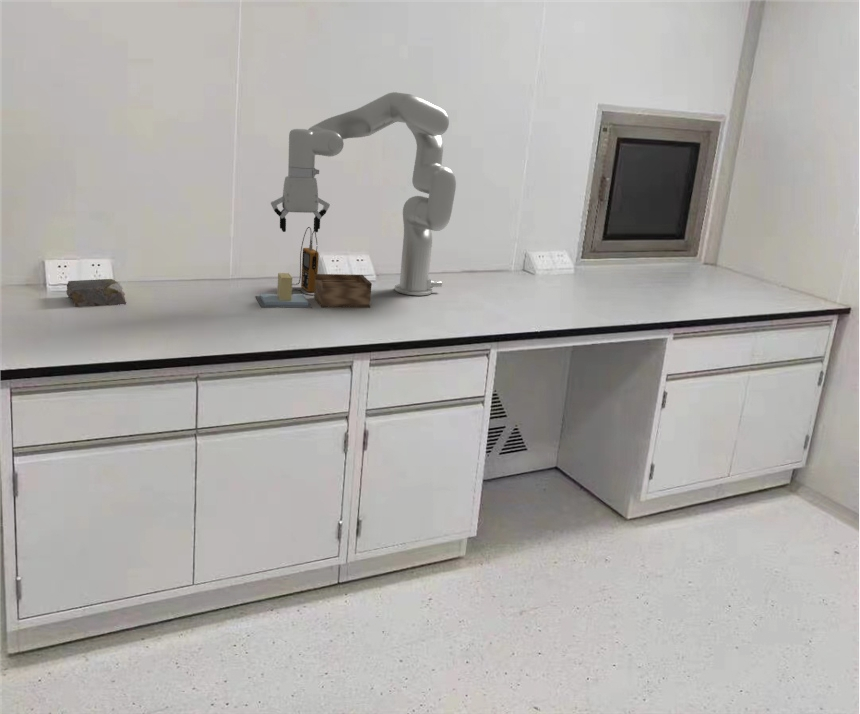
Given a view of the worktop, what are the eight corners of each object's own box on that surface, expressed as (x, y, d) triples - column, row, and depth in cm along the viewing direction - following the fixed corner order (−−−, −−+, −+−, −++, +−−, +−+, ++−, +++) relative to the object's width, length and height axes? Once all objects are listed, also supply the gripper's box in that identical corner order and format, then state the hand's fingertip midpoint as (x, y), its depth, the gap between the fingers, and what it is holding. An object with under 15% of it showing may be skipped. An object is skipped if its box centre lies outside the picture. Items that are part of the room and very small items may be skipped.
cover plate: (302, 297, 266) (303, 272, 264) (308, 305, 258) (309, 279, 256) (260, 297, 262) (261, 271, 259) (264, 305, 254) (265, 278, 251)
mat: (304, 297, 268) (304, 296, 268) (312, 307, 257) (312, 306, 257) (255, 296, 263) (255, 295, 263) (261, 307, 252) (261, 306, 252)
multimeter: (275, 285, 279) (278, 223, 273) (305, 284, 284) (308, 224, 278) (290, 296, 267) (293, 232, 261) (321, 295, 272) (324, 232, 266)
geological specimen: (62, 280, 242) (118, 276, 249) (65, 301, 243) (120, 296, 251) (69, 289, 233) (126, 284, 240) (71, 310, 235) (128, 305, 242)
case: (360, 298, 273) (362, 274, 271) (369, 307, 263) (371, 283, 261) (314, 297, 268) (315, 273, 266) (321, 307, 258) (323, 282, 256)
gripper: (327, 172, 257) (325, 229, 262) (269, 170, 251) (268, 228, 257) (333, 175, 250) (331, 234, 256) (273, 173, 244) (272, 233, 250)
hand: (299, 231), depth 256 cm, fingers open, 9 cm apart
